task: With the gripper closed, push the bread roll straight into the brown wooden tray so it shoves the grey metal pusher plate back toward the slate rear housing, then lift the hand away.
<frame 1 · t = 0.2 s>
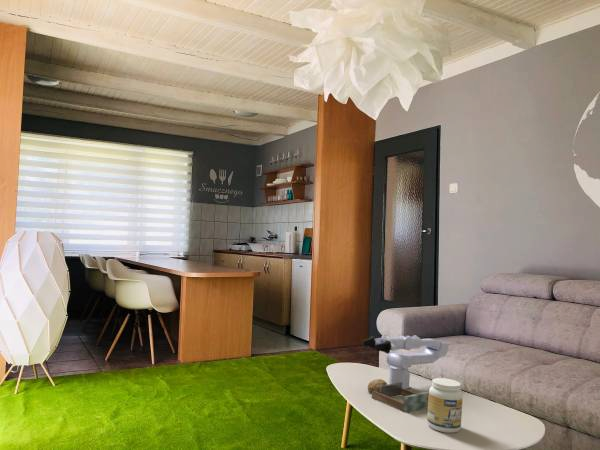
hand: (369, 345, 217), 21 cm above the table, tool horizontal, fingers open, 7 cm apart
bread roll: (378, 393, 218), on the table
pusher plate: (390, 390, 213), point 3 cm above the table, slide at 0.0 cm
supplement tub: (443, 427, 182), on the table
brown wooden tray: (400, 401, 208), on the table
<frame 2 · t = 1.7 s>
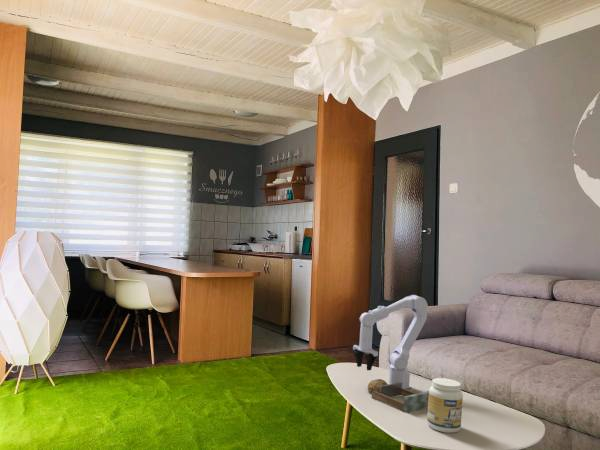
hand: (364, 368, 226), 8 cm above the table, tool pointing down, fingers open, 6 cm apart
nothing on the table moved.
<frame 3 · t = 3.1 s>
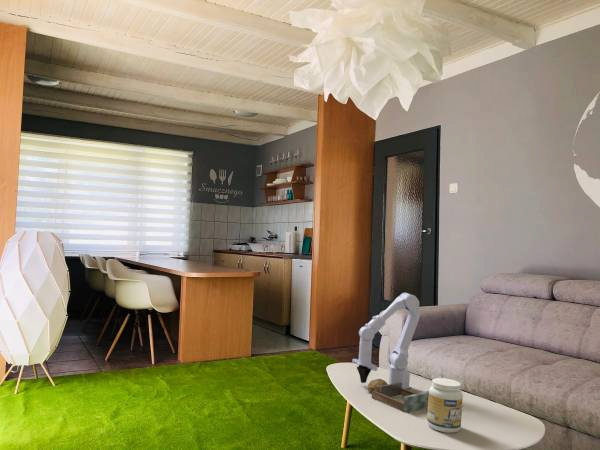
hand: (363, 382, 226), 2 cm above the table, tool pointing down, fingers closed
nothing on the table moved.
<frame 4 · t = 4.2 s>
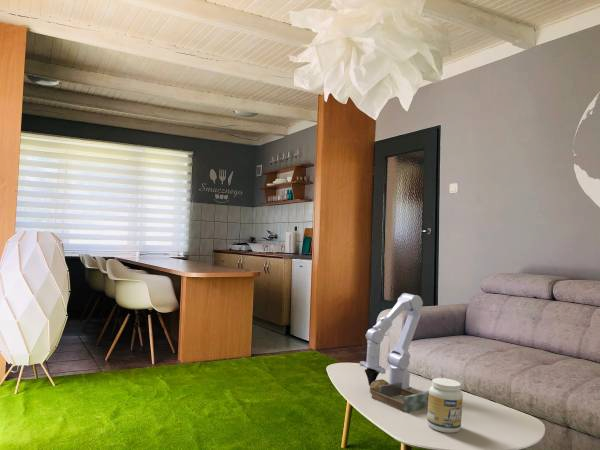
hand: (371, 385, 222), 2 cm above the table, tool pointing down, fingers closed
bread roll: (380, 393, 218), on the table, touching gripper
everything else where it was.
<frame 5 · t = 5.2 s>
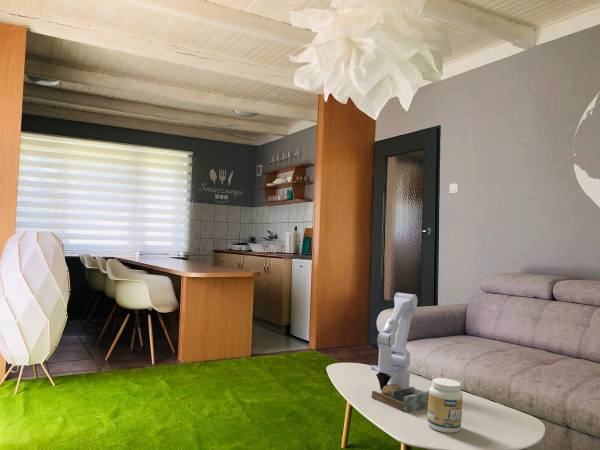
hand: (383, 390, 216), 2 cm above the table, tool pointing down, fingers closed
bread roll: (392, 398, 212), on the table, touching gripper, pusher plate
pusher plate: (403, 395, 207), point 3 cm above the table, slide at 6.9 cm, touching bread roll
everything else where it was.
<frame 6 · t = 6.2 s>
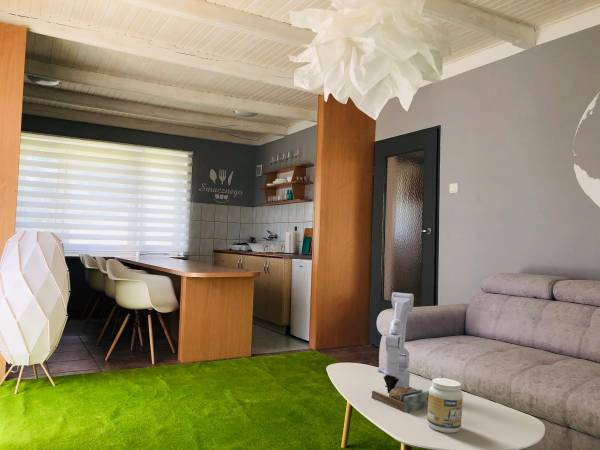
hand: (390, 393, 213), 2 cm above the table, tool pointing down, fingers closed
bread roll: (400, 402, 208), on the table, touching gripper, pusher plate
pusher plate: (411, 398, 204), point 3 cm above the table, slide at 11.3 cm, touching bread roll
everything else where it was.
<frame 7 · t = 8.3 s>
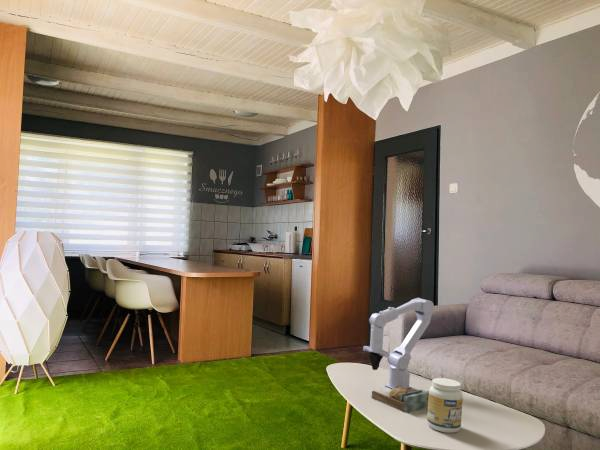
hand: (374, 369, 224), 9 cm above the table, tool pointing down, fingers closed
bread roll: (400, 402, 208), on the table
pusher plate: (411, 398, 204), point 3 cm above the table, slide at 11.5 cm
everything else where it was.
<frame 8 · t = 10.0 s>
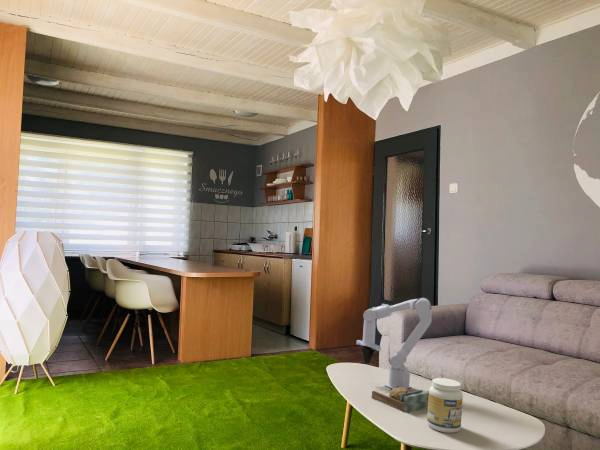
hand: (367, 362, 233), 9 cm above the table, tool pointing down, fingers closed
nothing on the table moved.
at the end: pusher plate slide at 11.5 cm; bread roll inside the target area on the brown wooden tray (0.7 cm from its centre), point 0.0 cm above the brown wooden tray's base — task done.
